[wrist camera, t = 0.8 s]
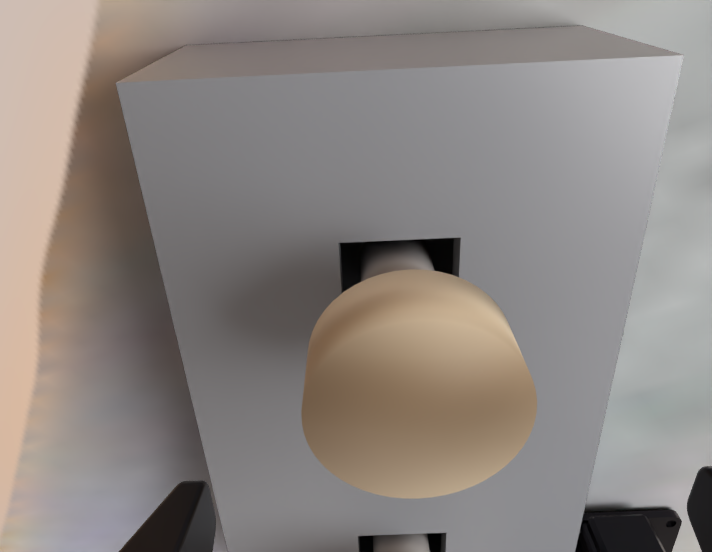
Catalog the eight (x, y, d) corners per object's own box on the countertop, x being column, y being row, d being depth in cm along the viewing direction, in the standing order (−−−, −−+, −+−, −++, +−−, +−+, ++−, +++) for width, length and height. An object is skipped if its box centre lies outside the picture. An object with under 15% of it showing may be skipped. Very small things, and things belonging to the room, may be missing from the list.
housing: (516, 515, 28) (554, 644, 23) (270, 524, 28) (252, 655, 23) (582, 25, 17) (684, 55, 12) (186, 44, 17) (115, 82, 12)
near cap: (467, 318, 18) (524, 494, 12) (324, 324, 18) (311, 502, 12) (475, 180, 15) (550, 314, 10) (312, 188, 15) (289, 325, 10)
